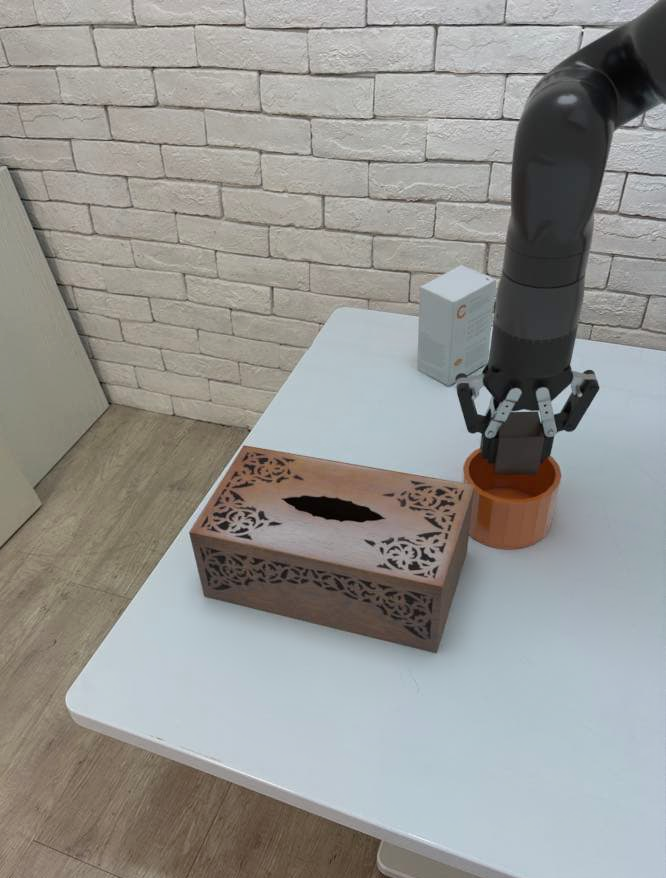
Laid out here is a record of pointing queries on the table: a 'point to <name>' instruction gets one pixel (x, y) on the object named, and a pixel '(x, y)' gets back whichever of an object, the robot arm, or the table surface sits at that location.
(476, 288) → the small box
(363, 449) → the table surface
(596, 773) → the table surface
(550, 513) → the round open container
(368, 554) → the tissue box cover
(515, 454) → the walnut block
